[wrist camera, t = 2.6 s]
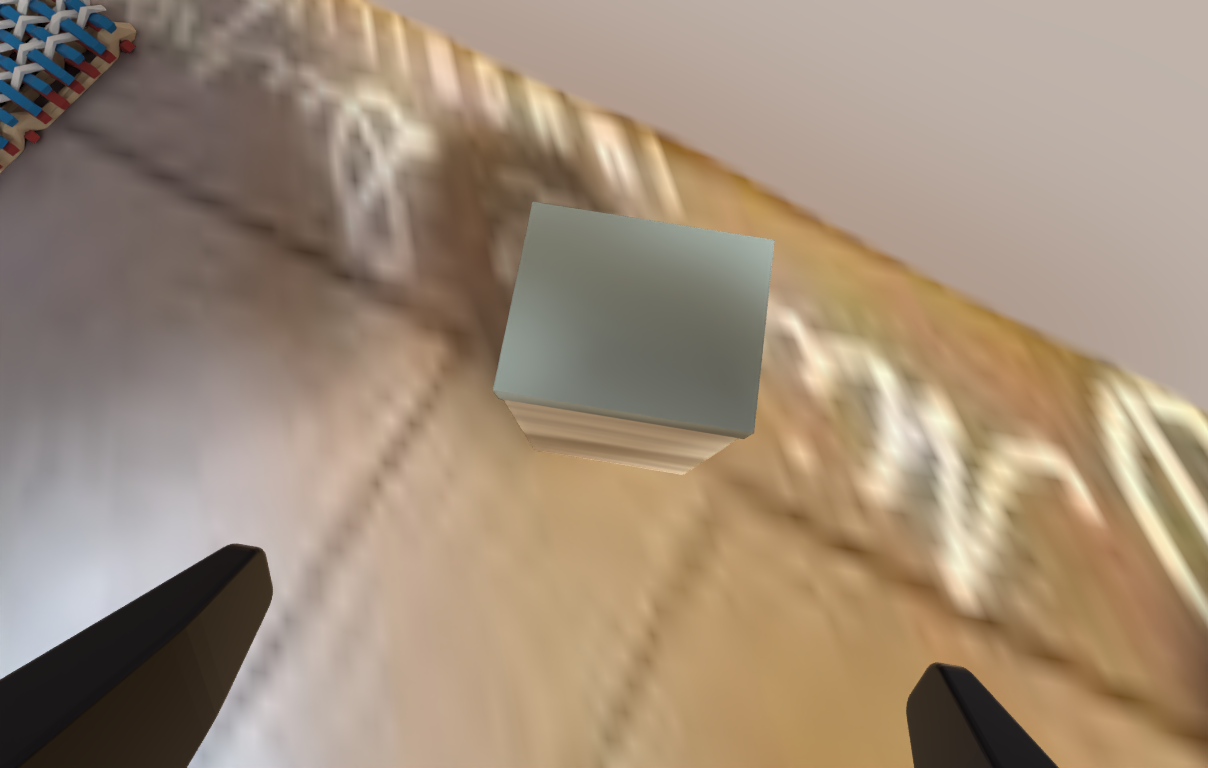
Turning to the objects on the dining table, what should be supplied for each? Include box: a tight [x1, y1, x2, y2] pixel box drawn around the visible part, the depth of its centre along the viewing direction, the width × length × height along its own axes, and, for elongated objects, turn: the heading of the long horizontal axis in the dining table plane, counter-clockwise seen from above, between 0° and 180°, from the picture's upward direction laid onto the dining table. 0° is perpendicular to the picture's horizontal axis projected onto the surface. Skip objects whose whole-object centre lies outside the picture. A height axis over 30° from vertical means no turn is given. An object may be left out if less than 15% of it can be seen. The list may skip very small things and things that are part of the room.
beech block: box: [493, 202, 774, 475], centre depth 17 cm, size 4×5×9 cm
